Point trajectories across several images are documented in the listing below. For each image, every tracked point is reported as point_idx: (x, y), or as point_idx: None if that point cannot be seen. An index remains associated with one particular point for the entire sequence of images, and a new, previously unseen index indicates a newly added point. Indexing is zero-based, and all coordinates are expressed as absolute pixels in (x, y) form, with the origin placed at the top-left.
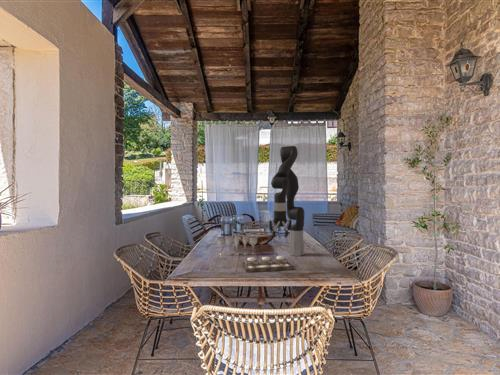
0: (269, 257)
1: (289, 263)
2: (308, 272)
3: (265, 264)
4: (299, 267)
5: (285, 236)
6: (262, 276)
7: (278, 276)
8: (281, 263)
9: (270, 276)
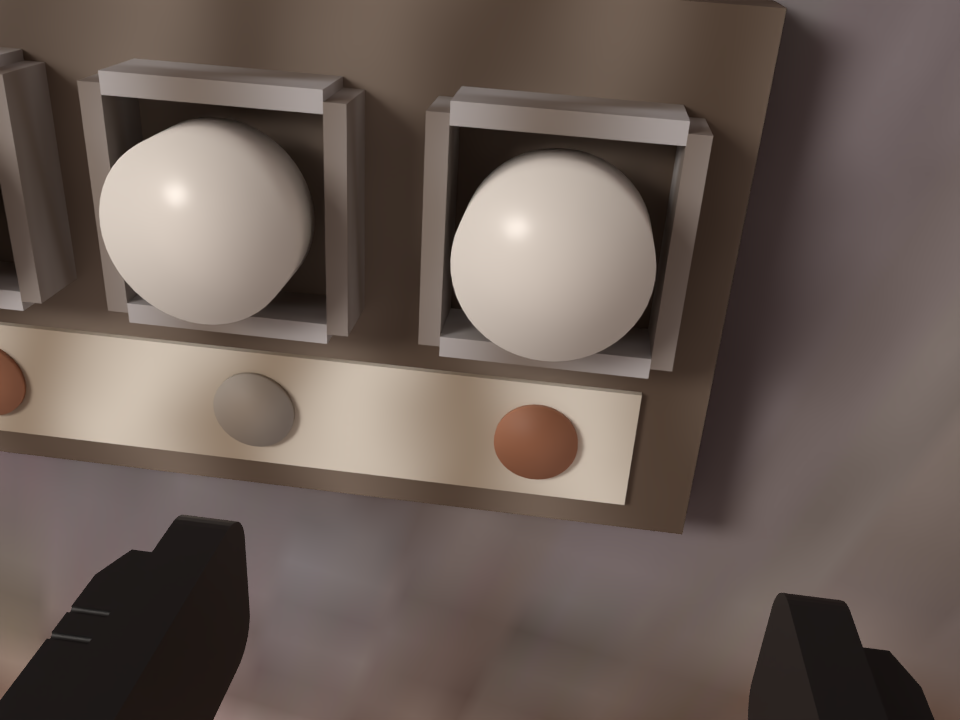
0: (273, 257)
1: (710, 349)
2: None
3: None
4: (860, 416)
5: (760, 679)
6: None
7: (334, 699)
8: None
9: None
